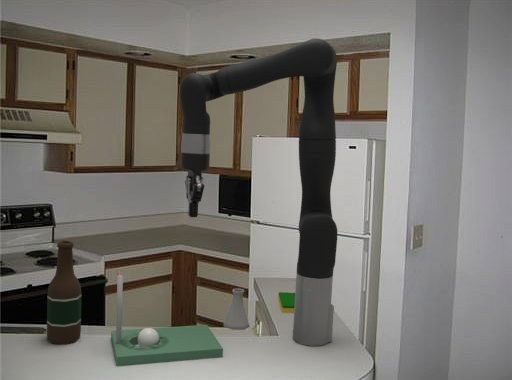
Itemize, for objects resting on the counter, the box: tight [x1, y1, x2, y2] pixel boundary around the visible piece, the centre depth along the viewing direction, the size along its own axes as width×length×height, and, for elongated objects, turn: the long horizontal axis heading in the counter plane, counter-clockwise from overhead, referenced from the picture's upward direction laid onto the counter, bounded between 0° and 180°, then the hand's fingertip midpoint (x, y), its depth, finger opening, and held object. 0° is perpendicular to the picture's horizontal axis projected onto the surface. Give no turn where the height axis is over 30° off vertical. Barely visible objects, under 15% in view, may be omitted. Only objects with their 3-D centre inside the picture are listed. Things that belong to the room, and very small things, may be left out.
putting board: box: [110, 269, 224, 367], centre depth 133 cm, size 24×16×18 cm, turn 109°
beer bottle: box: [46, 240, 82, 345], centre depth 135 cm, size 8×8×24 cm
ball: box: [137, 327, 159, 347], centre depth 132 cm, size 5×5×5 cm
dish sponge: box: [277, 291, 295, 314], centre depth 171 cm, size 7×14×2 cm, turn 2°
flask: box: [223, 288, 250, 331], centre depth 151 cm, size 7×7×10 cm
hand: (192, 216), depth 149 cm, fingers closed
